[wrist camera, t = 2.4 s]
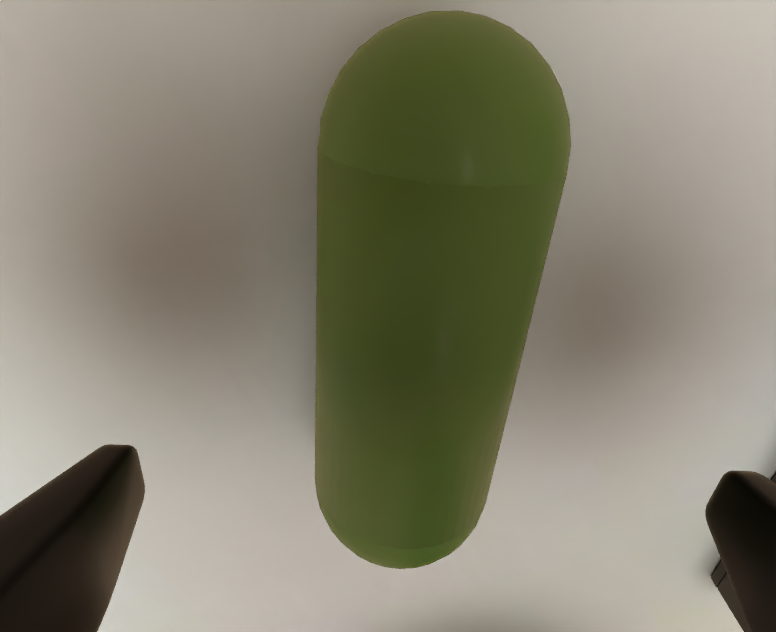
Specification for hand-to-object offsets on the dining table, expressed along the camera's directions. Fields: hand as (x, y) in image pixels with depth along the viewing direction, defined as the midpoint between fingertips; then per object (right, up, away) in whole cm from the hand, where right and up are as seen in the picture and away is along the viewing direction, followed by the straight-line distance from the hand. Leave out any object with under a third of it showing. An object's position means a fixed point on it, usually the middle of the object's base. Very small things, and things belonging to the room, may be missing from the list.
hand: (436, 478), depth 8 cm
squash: (0, +3, +5) cm, 6 cm away
